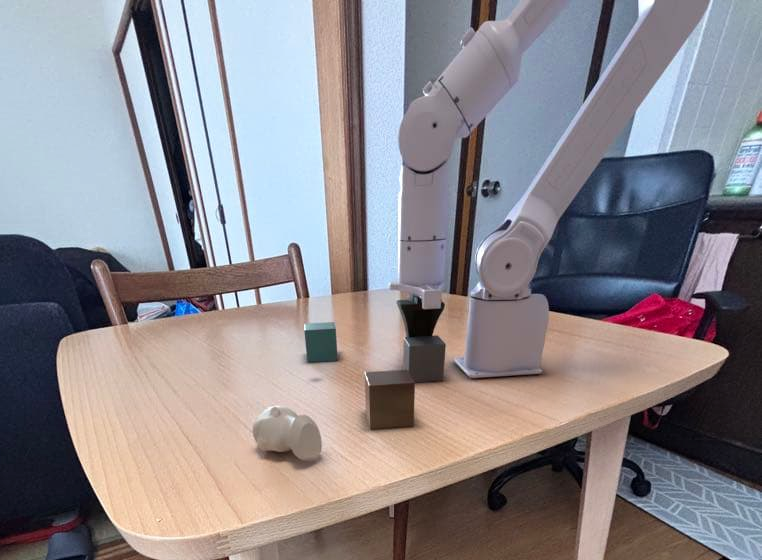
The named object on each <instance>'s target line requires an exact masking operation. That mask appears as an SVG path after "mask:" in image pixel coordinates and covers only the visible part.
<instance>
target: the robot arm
mask: <svg viewBox="0 0 762 560" xmlns="http://www.w3.org/2000/svg"><path fill="white" fill-rule="evenodd" d="M573 1H574V0H520V1H519V3H518V4H517V5H516V6H515V8H513V10H512V11H511V13H510V14H509V15H508V16H507V17H506V18H505V19H501V20H486V21H484V22H483V23H482V24H481V25H480V26H479V27H478V29H477V30H476V31H475V29H474V28H473V27H469V29H467V31H466V33H465V34H463V36H462V38H461V39H460V46H461V48H462V49H461V50H460V51H459V52H458V53H457V55H456V56H454V58H453V59H452V60H451V62H450V63H449V64H448V66H447V67H446V68H445V69H444V70H443V71H442V73H441V74H440V75H439V77H437V80H435V81H434V82H432V81H431V80H429V81H428V82H427V83H426V84H425V85H424V87H423V88H422V93H423V94H424V95H423V96H420V97H418V98H416V99H414V100H412V101H411V102H410V104H409V107H408V109H407V111H406V112H405V114H404V116H403V118H402V120H401V121H400V125H399V129H398V133H397V134H398V135H397V144H398V150H399V153H400V156H401V159H402V161H403V163H404V164H405V165H404V164H401V170H400V173H399V184H400V191H399V193H398V235H397V236H398V238H397V239H398V249H397V250H398V252H397V257H398V258H397V261H398V262H397V267H398V268H397V281H390V282H388V289H389V290H390V291H398V292H402V293H406V294H409V296H408V299H399V300H396V305H397V307H398V309H399V312H400V316H401V318H402V321H403V326H404V329H405V330H404V331H405V337H417V336H434V332H435V328H436V326H437V323H438V321H439V319H440V317H441V315H442V313H443V312H444V310H445V306H446V304H445V303H444V301H443V300H442V293H443V291H444V290H445V289H446V283H447V281H446V280H445V274H446V259H447V258H446V255H447V241H448V240H447V238H448V224H449V211H450V208H449V207H450V193H451V192H450V189H449V188H448V181H449V166H450V163H449V162H448V161H449V159H450V158H451V155H452V152H453V150H454V147H455V141H457V140H458V139H465V138H468V137H469V135H470V134H472V132H473V131H474V130H475V129H476V127H477V126H478V125H480V123H481V122H482V121H483V120H484V119H485V118H486V117H487V116H488V114H489V113H490V112H491V111H492V110H493V109H494V108H495V107H496V106H497V105H498V104H499V102H500V101H501V100H502V99H503V98H504V97H505V96H506V95H507V94H508V93H509V91H511V90H512V88H513V87H514V86H515V85H516V84H517V83H518V81H519V77H520V71H521V66H522V65H521V64H522V58H523V55H524V53H525V52H526V51H527V50H528V49H529V48H530V47H531V46H532V45H533V44H534V43H535V41H537V39H538V38H539V37H540V36H541V35H542V34H543V33H544V32H545V31H546V29H548V28H549V27H550V25H551V24H552V23H553V22H554V21H555V20H556V19H557V18H558V17H559V16H560V14H562V13H563V11H564V10H565V9H566V8H567V7H568V6H569V5H570V4H571V3H572V2H573ZM637 2H638V6H637V7H638V16H637V17H638V18H637V20H636V22H635V23H634V26H633V27H632V28H631V29H630V31H629V33H628V34H627V36H626V38H625V39H624V41H623V42H622V44H621V45H620V47H619V48H618V50H617V51H616V53H615V54H614V56H613V57H612V59H611V61H610V62H609V64H608V65H607V66H606V68H605V69H604V71H603V72H602V74H601V76H600V77H599V79H598V80H597V81H596V84H595V85H594V87H593V88H592V90H591V91H590V92H589V94H588V96H587V97H586V98H585V100H584V102H583V104H582V105H581V107H580V108H579V110H578V111H577V113H575V115H574V117H573V119H572V120H571V122H570V123H569V125H568V126H567V128H566V130H565V131H564V133H563V134H562V135H561V137H560V139H559V140H558V141H557V143H556V145H555V146H554V148H553V149H552V151H551V152H550V154H549V155H548V157H547V159H546V160H545V161H544V163H543V165H542V166H541V168H540V169H539V171H538V172H537V174H536V175H535V177H534V178H533V180H532V181H531V183H530V184H529V186H528V187H527V189H526V191H525V192H524V194H523V195H522V196H521V198H520V199H519V200H518V202H517V203H516V204H515V205H514V206H513V208H512V209H510V211H509V213H508V214H507V216H506V217H505V219H504V220H503V221H502V223H501V224H500V225H499V226H498V227H497V228H495V229H494V230H493V231H491V232H490V233H488V234H487V235H486V236H485V237H484V238H483V239H482V240H481V242H480V243H479V245H478V247H477V249H476V252H475V257H474V267H475V271H476V274H477V276H478V277H479V279H480V280H479V281H478V283H477V284H476V285H475V287H473V289H471V290H470V293H469V295H470V296H469V304H468V305H469V306H468V317H467V325H466V336H465V337H466V338H465V349H464V357H457V358H455V359H454V363H455V364H456V365H457V366H458V367H459V368H460V369H461V370H462V371H463V372H464V373H465V375H466V376H467V377H468V378H470V379H478V378H480V379H481V378H496V377H509V376H525V375H526V376H527V375H540V374H542V372H543V370H542V368H541V364H542V360H543V359H542V358H543V353H544V348H545V342H546V336H547V332H548V326H549V319H550V307H549V301H548V299H547V297H546V296H545V295H544V294H542V293H532V288H531V287H529V284H530V283H531V282H532V280H533V279H534V277H535V274H536V271H537V268H538V264H539V260H540V257H541V255H542V253H543V251H544V249H545V248H546V246H547V245H548V244H549V242H550V241H551V239H552V236H553V234H554V232H555V229H556V227H557V224H558V222H559V220H560V218H562V216H563V214H564V213H565V211H567V208H569V206H570V204H571V203H572V202H573V200H574V199H575V198H576V196H577V195H578V193H579V192H580V191H581V189H582V188H583V186H584V185H585V183H586V182H587V180H588V179H589V178H590V176H591V175H592V174H593V172H594V171H595V169H597V166H599V164H600V163H601V161H602V159H603V158H604V157H605V155H606V154H607V153H608V152H609V150H610V149H611V147H612V145H613V144H614V143H615V142H616V140H617V138H618V137H619V136H620V135H621V133H622V132H623V130H624V129H625V127H626V126H627V124H628V123H629V122H630V120H631V119H632V117H634V115H635V113H636V112H637V111H638V109H639V107H640V106H641V105H642V103H643V102H644V101H645V99H646V98H647V97H648V95H649V94H650V92H651V91H652V90H653V88H654V86H655V85H656V83H658V81H659V80H660V78H661V77H662V75H663V74H664V72H665V71H666V70H667V68H668V67H669V65H671V63H672V61H673V60H674V59H675V57H676V56H677V54H678V52H679V51H680V50H681V49H682V47H683V46H684V44H685V43H686V41H687V40H688V39H689V38H690V36H691V35H692V33H693V32H694V30H695V29H696V28H697V27H698V25H699V24H700V22H701V20H702V19H703V17H704V15H705V13H706V11H707V10H708V8H709V6H710V2H711V0H638V1H637Z"/></svg>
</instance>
